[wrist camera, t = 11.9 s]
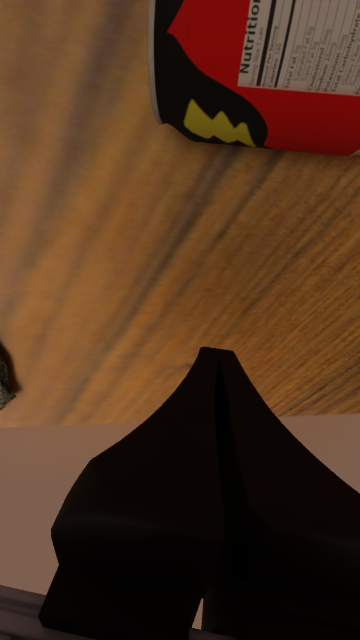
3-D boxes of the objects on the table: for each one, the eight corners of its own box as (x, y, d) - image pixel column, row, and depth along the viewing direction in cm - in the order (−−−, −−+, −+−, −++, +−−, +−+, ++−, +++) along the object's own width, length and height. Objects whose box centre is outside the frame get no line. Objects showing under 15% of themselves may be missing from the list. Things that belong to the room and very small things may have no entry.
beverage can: (439, -11, 12) (175, -25, 13) (595, -108, 7) (142, -120, 8) (368, 154, 16) (169, 135, 16) (435, 169, 11) (144, 141, 11)
